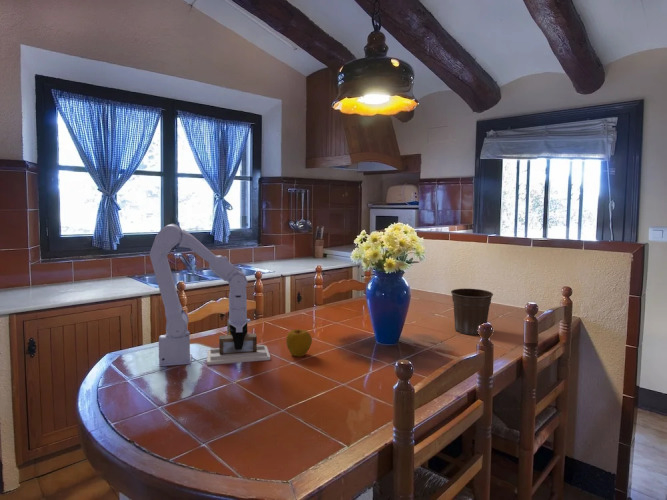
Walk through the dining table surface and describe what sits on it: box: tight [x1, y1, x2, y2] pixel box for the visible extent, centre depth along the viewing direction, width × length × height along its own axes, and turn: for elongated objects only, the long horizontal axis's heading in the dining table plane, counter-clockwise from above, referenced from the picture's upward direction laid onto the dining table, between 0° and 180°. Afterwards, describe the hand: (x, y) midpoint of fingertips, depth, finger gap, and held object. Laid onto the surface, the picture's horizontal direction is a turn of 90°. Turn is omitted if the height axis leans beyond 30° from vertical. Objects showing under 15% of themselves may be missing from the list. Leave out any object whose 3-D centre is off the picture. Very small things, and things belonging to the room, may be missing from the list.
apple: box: [285, 328, 313, 358], centre depth 151 cm, size 8×8×9 cm
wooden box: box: [218, 332, 258, 355], centre depth 148 cm, size 12×4×6 cm, turn 105°
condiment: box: [226, 318, 248, 335], centre depth 158 cm, size 7×8×12 cm
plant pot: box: [450, 288, 494, 336], centre depth 181 cm, size 16×16×16 cm
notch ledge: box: [206, 344, 271, 366], centre depth 149 cm, size 20×11×2 cm, turn 105°
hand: (238, 347), depth 149 cm, fingers closed on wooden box, 4 cm apart
